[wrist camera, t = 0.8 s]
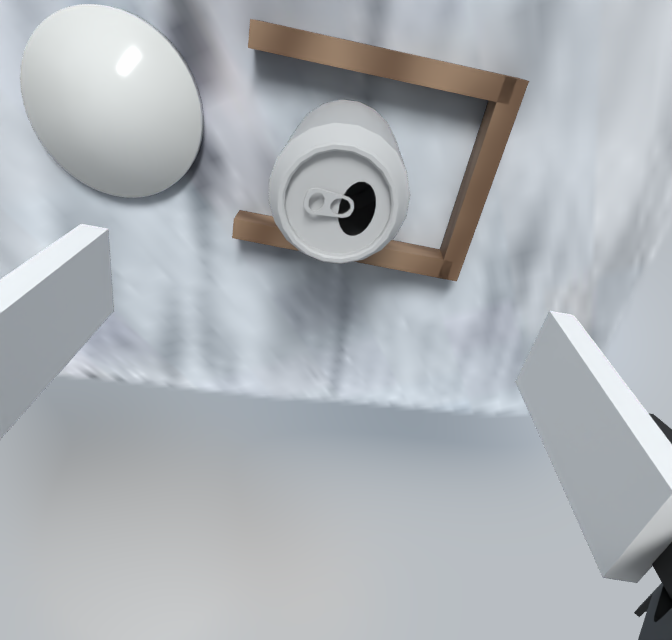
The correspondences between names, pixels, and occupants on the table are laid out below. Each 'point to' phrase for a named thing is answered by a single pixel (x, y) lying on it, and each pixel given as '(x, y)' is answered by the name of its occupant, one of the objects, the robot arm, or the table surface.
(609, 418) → the robot arm
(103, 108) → the white glossy ellipsoid
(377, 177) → the can
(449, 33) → the table surface
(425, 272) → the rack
